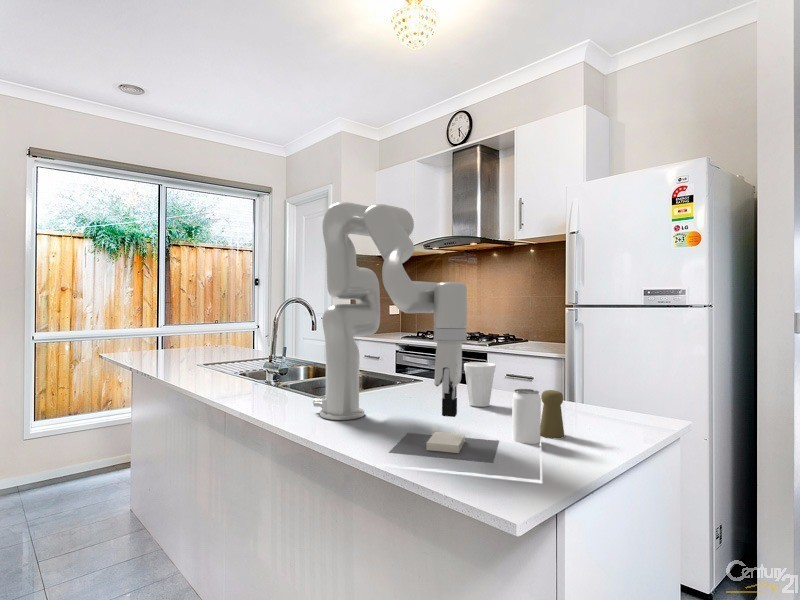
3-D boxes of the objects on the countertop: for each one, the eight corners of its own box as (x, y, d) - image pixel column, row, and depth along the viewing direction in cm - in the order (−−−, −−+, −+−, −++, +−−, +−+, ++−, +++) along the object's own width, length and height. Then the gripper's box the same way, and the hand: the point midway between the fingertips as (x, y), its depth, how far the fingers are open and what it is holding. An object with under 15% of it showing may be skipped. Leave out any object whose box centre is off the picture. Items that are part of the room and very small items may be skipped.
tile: (434, 439, 114) (426, 450, 106) (435, 431, 114) (426, 442, 106) (464, 441, 112) (458, 453, 104) (464, 434, 112) (458, 445, 104)
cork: (551, 439, 117) (552, 393, 117) (533, 433, 122) (534, 389, 122) (570, 436, 120) (570, 391, 120) (551, 430, 125) (552, 387, 125)
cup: (475, 400, 161) (475, 361, 161) (501, 405, 154) (502, 364, 154) (456, 405, 153) (457, 363, 153) (483, 410, 146) (483, 367, 146)
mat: (388, 455, 104) (388, 452, 104) (407, 435, 120) (407, 432, 120) (493, 465, 98) (493, 462, 98) (499, 443, 114) (499, 440, 114)
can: (535, 447, 110) (536, 394, 110) (508, 443, 114) (508, 391, 114) (543, 440, 116) (544, 390, 116) (517, 436, 119) (517, 387, 119)
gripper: (440, 333, 120) (439, 407, 120) (427, 337, 106) (426, 422, 106) (470, 334, 118) (469, 409, 118) (461, 338, 104) (461, 425, 104)
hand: (449, 415), depth 112 cm, fingers closed
